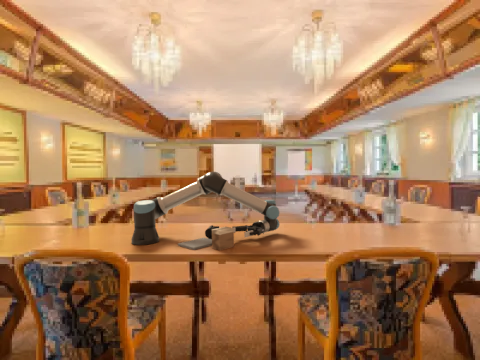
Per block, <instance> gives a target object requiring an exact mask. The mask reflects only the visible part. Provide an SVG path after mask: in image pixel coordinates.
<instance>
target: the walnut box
mask: <svg viewBox="0 0 480 360" xmlns="http://www.w3.org/2000/svg"><path fill="white" fill-rule="evenodd" d="M234 234H235V233H234V228H232V227H231V226H230V227H229V226H223V227H219V228H216V229H212V245H211V249H212V250H216V251H224V250H226V249H231V248H234V247H235V241H234V240H235V235H234Z"/></svg>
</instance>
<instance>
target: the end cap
mask: <svg viewBox="0 0 480 360" xmlns="http://www.w3.org/2000/svg"><path fill="white" fill-rule="evenodd" d="M216 228H220V226H218V225H217V226H215V225H213V224H212V225H209V226H208V228H207V229H205V231H204V235H205V238H208V239H212V229H216Z"/></svg>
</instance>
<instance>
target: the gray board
mask: <svg viewBox="0 0 480 360" xmlns="http://www.w3.org/2000/svg"><path fill="white" fill-rule="evenodd" d="M177 246H178V247H182V248H186V249H188V250H193V251H196V250H200V249H203V248H207V247H212V239H209V238H207V237H199V238H195V239H190V240H188V241H187V240H186V241H183V242H178V243H177Z"/></svg>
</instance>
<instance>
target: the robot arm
mask: <svg viewBox="0 0 480 360" xmlns="http://www.w3.org/2000/svg"><path fill="white" fill-rule="evenodd" d="M211 193H214V194H216V195H219V196H225V197H227V198H228V199H231V200H232V201H235V202H237V203H239V204H241V205H243V206H245V207H247V208H249V209H250V210H251V209H252V210H253V211H256V212H257V213H259V214H261V215H263V219H262V220H258V221H254V222H253V223H252V224H250V225H247V224H246V225H237V226H236V225H235V226H232V227H231V228H234V234H235V233H236V232H238V233H239V232H243V233H244V235H243V236H244V238H249V237H252V236H261V235H262V234H265V233H268V232H273V231H276V230H278V229H279V227H280V221H279V219H278V218H279V216H280V209H279V207H277V202H276V200H275V199H265V200H264V199H262V198H260V197H258V196H255V195H254V194H252V193H249V192H247V191H245V190H243V189H241V188H239V187H237V186H236V185H233V184H231V183H229V181H228V180H227V179H225V178H224V177H223V176H222V175H221V173H220V172H217V171H209V172H207V173H205V174H204V175H202V176H200V177H197V180H196V181H195V182H193V183H190V184H189V185H187V186H184V187H182V188H180V189H177V190H176V191H173V192H172V193H169V194H167V195H165V196H163V197H161V196H158V197H156V198H153V199H148V200H147V199H146V200H145V199H144V200H139V201H136V202H135V203H134V204H133V223H134V224H133V225H134V226H133V227H134V230H133V233H132V236H131V244H132V245H137V246H142V245H143V246H144V245H151V244H152V245H153V244H156V243H158V242H159V241H160V236H159V233H158V231H157V228H156V220H157V219H159V218H161V217H162V216H164V215H167V214H168V212H169V210H172V209H174V208H176V207H178V206H180V205H182V204H184V203H186V202H188V201H190V200H193V199H194V198H197V197H199V196H201V195H209V194H211Z"/></svg>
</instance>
